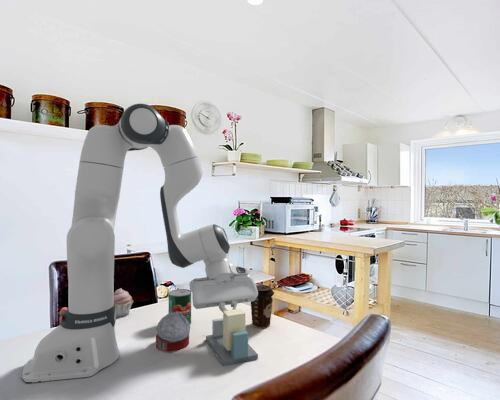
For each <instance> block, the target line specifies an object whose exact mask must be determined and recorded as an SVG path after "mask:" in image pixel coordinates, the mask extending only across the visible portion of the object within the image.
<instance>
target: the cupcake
mask: <svg viewBox="0 0 500 400" xmlns="http://www.w3.org/2000/svg"><path fill="white" fill-rule="evenodd" d="M133 303H134V300H133V297H132V296H131V295H130V294H129V292H128V291H126V290H124V289H122V287H121V288H119V289H116V290H115V291H114V304H115V308H116V318H123V317H126V316H129V314H130V312H131V307H132V305H133ZM122 316H123V317H122Z"/></svg>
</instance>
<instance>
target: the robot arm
mask: <svg viewBox="0 0 500 400" xmlns="http://www.w3.org/2000/svg"><path fill="white" fill-rule="evenodd" d="M147 148H150V149H153V150H154V151H155V152H156V153H157V155H158V157H159V158H160V161H161V164H162V168H163V171H164V182H163V185H162V186H161V187H160V190H159V196H160V197H159V200H160V206H161V212H162V219H163V225H164V230H165V236H166V242H167V243H166V245H167V254H168V259H169V260H170V262H171V264H173V265H174V266H176V267H177V268H178V267H179V268H183V269H185V268H187V267H189V266H191V265H194V264H195V263H197V262H201V261H203V263H204V265H205V266H204V267H205V271H204V272H205V275H206V277H205V276H204V277H199V278H198V277H195V278H193V279H192V280H191V281H189V290H190V291H191V301H192V306H193V308H194V309H196V310H200V309H206V308H213V307H214V308H215V307H218V308H219V309H218V310H219V311H220V312H221V313H223V311H228V309H227V307H226V306H229V305H230V308H232V309H231V310H235V309H237V305H238V304H242V303H243V304H244V303H251V302H252V301H255V299H256V298H257V296H258V290H257V287H256V286H257V285H256V283H255V281H254V279H253V277H251V275H249V273H250V270H249V268H247V267H244V266H239V265H235V264H232V261H231V260H230V253H229V252H230V248H231V247H230V244H229V240H228V239H229V238H228V236H227V233H226V231H225V229H224V228H223V227H221V226H220V225H217V224H215V223H213V224H209V225H205V226H203V227H200V228H198V229H197V228H196V229H195V230H192V231H189V232H185V233H181V231H180V223H179V218H178V213H177V212H178V211H177V207H178V204H179V202H180V201H181V200H182V199H183V198H184V197H186V195H188V194H189V193H191V191H193V190H194V188H196V187H197V186H198V185H199V183H200V182H201V180H202V177H203V168H202V163H201V159H200V157H199V154H198V151H197V149H196V147H195V144H194V142H193V139H192V138H191V136H190V134H189V132H188V131H187V130H186V128H185V127H183V126H182V125H178V124H171V125H170V124H169V122H168V121H167V120H166V119H165V118H164V117H163V116H162V115H161V114H160V113H159V112H158V111H157V110H156V108H154V107H152V106H151V105H149V104H146V103H135V104H132V105H130V106H128V107H127V108H125V110H124V111H123V112H122V115H121V117H120V119H119V121H118V122H117V124H115V125H107V124H106V125H105V124H99V125H94V126H92V127H91V128H89V130H88V131H87V133H86V136H85V139H84V141H83V145H82V148H81V152H80V157H79V163H78V170H77V175H76V176H77V177H76V184H75V191H74V202H73V209H72V221H71V227H70V228H69V230H68V232H67V235H66V264H67V280H68V290H67V291H68V292H67V294H68V298H67V299H68V301H67V302H68V307H66V306H65V307H62V308H61V309H60V311H59V313H58V314H59V318H58V322H59V325H58V326H57V327H55V328H54V329H52V330H51V331H50V332H49V333H47V334H46V335H45V336H44V337H43V338H42V339H41V340H40V341H39V343H38V344H37V346H36V348H35V350H34V353H33V357H31V358H30V359H29V360H27V362H26V364H25V365H24V367H23V369H22V373H21V380H22V379H23V380H24V381H25V382H32V383H39V382H38V381H41V382H50V380H51V381H61V380H68V379H69V380H70V379H77V378H87V377H88V378H89V377H92V376H95V375H96V374H97V373H98V372H99V371H100V370H103V369H104V368H106V367H108V366H110V365H113V363H115V362H116V361H117V360H118V358H119V357H120V354H121V352H120V349H119V347H118V346H119V345H118V342H117V337H116V330H115V325H116V322H117V321H116V319H117V317H116V308H115V304H114V293H115V291H114V288H115V287H114V283H115V278H114V276H115V250H116V249H115V248H116V247H115V246H116V243H115V242H116V240H115V239H116V238H115V237H116V236H115V224H116V217H117V211H118V208H119V206H118V205H119V202H120V201H119V200H120V196H121V194H120V193H121V188H122V181H123V175H124V174H123V173H124V167H125V166H124V165H125V160H126V156H127V153H128V152H133V151H142V150H145V149H147ZM23 380H22V381H23ZM24 381H23V382H24ZM25 382H24V383H25Z"/></svg>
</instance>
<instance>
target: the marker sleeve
mask: <svg viewBox="0 0 500 400" xmlns="http://www.w3.org/2000/svg"><path fill="white" fill-rule="evenodd" d="M227 310H228V309H227ZM222 313H223V314H222V318H223V345H224V346H225V348H226V349H227V350H228V351H229V350H231V343H230V337H231V332H237V331H243V330H245V331H246V313H245V312H244V311H243V310H242V309H241V308H236V309H235V310H232V309H230V310H228V311H223V312H222Z"/></svg>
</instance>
